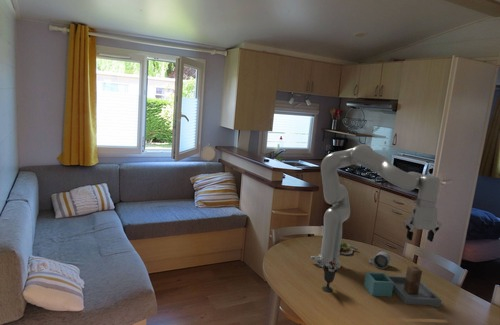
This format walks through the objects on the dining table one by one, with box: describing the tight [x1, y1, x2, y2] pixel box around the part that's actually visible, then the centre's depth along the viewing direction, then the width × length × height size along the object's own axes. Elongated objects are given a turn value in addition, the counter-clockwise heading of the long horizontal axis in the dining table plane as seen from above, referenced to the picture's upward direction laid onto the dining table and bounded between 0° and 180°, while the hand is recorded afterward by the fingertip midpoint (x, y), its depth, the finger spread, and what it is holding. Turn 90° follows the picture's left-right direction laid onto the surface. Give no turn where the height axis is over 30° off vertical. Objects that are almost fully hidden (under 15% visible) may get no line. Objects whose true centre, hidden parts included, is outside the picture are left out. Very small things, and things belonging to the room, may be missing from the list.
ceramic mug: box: [368, 251, 391, 269], centre depth 188 cm, size 11×8×8 cm
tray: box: [387, 275, 442, 308], centre depth 160 cm, size 16×20×4 cm
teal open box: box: [363, 271, 394, 297], centre depth 158 cm, size 9×9×8 cm
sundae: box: [321, 258, 339, 293], centre depth 157 cm, size 7×7×15 cm
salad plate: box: [339, 241, 359, 256], centre depth 205 cm, size 19×18×5 cm
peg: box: [404, 265, 423, 295], centre depth 159 cm, size 4×4×12 cm
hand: (419, 239), depth 156 cm, fingers open, 9 cm apart
